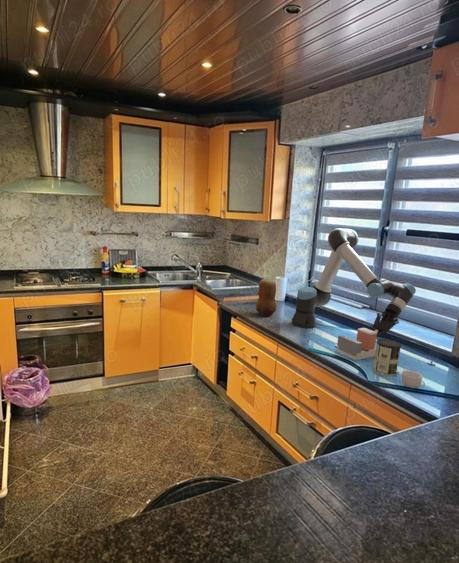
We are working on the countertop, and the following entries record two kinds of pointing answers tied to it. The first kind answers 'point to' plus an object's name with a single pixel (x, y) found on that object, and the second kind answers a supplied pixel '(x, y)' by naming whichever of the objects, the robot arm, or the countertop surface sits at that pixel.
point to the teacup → (412, 379)
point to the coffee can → (386, 357)
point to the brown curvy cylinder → (266, 297)
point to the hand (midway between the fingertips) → (371, 340)
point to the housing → (353, 348)
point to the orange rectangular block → (366, 338)
